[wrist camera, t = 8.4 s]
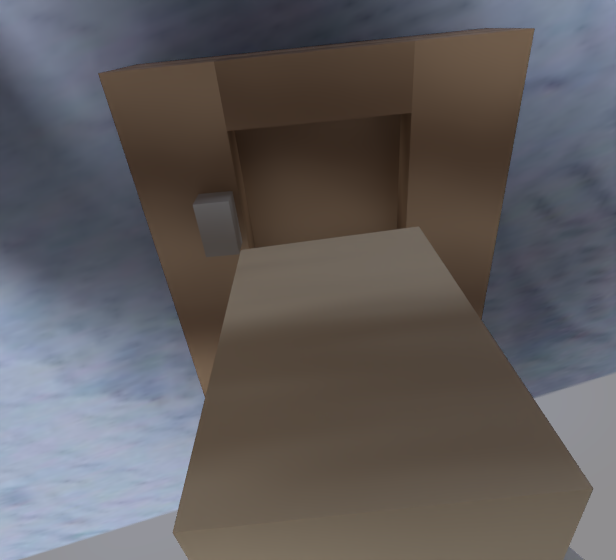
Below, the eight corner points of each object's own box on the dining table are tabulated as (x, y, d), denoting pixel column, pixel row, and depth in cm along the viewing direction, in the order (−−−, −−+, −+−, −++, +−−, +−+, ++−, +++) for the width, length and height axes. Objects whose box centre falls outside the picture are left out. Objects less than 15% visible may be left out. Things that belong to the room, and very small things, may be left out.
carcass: (136, 64, 15) (83, 76, 11) (486, 28, 15) (553, 28, 11) (229, 394, 25) (217, 462, 21) (441, 376, 24) (468, 441, 20)
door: (240, 250, 9) (160, 580, 4) (418, 226, 9) (623, 534, 3) (309, 528, 15) (318, 802, 10) (414, 516, 15) (483, 789, 10)
